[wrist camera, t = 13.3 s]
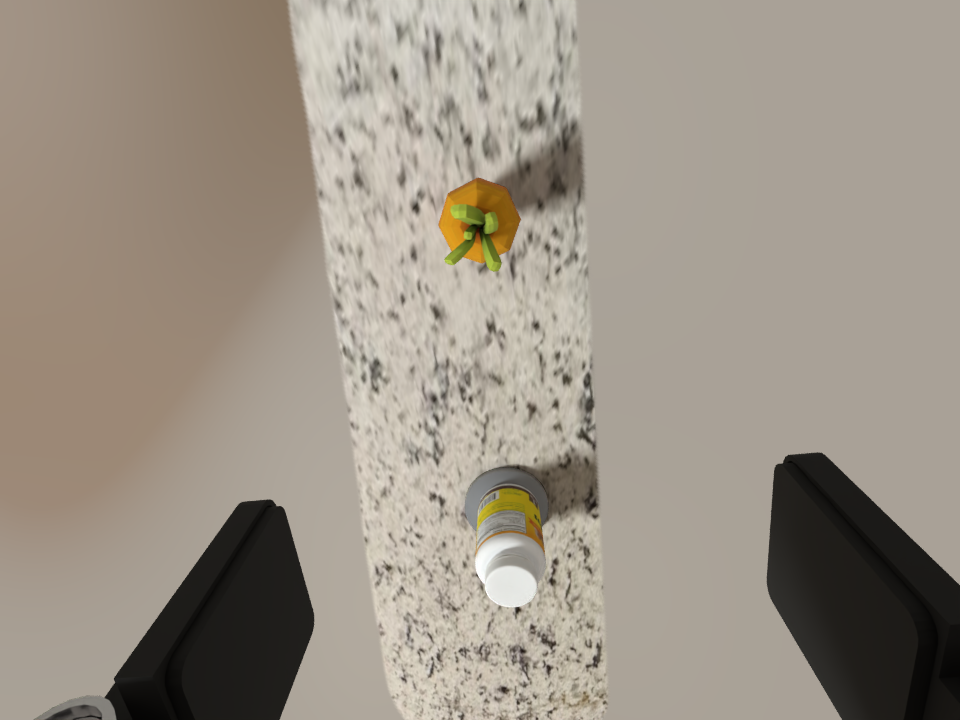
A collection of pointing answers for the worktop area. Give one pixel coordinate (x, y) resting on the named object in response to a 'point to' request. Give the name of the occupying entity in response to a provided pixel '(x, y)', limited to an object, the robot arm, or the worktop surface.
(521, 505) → the supplement bottle
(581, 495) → the worktop surface
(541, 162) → the worktop surface
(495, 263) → the carrot
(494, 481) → the slate coaster
